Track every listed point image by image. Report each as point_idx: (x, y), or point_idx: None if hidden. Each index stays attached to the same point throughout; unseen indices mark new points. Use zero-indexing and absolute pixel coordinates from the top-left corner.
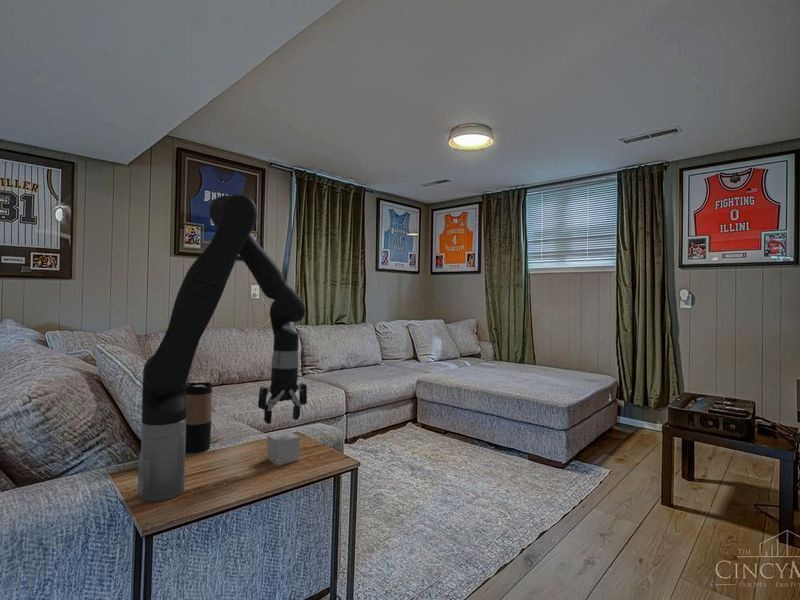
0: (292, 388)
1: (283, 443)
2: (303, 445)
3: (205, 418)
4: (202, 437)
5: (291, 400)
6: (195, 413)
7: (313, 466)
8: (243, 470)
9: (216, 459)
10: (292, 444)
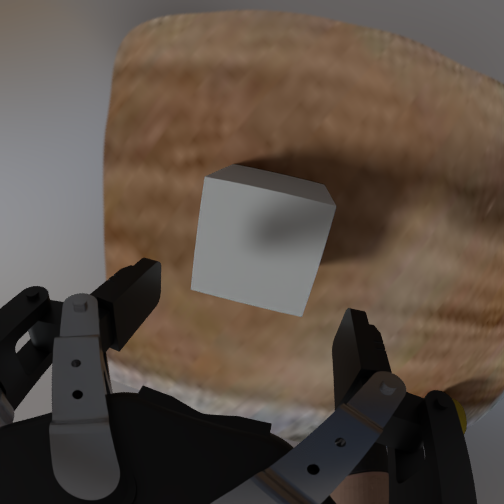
0: (46, 479)
1: (301, 194)
2: None
3: (365, 483)
4: None
5: (111, 391)
6: (388, 497)
7: (237, 76)
8: (414, 243)
9: None
10: (252, 180)
